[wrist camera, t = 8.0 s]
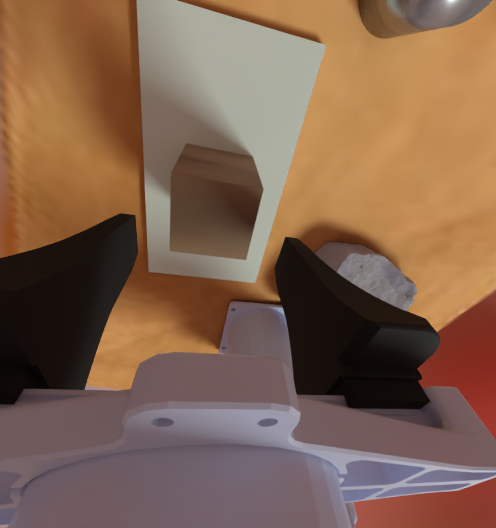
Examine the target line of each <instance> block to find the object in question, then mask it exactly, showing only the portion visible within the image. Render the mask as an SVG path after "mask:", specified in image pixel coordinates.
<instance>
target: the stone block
mask: <svg viewBox="0 0 496 528" xmlns="http://www.w3.org/2000/svg"><path fill="white" fill-rule="evenodd" d="M315 254H316V255H317V256H318V257H319V258H320V259H321V260H322V261H324V262H325V263H326V264H327V265H328V266H330V267H331V268H332V269H333V270H335V271H336V272H337V273H338V274H340V275H341V276H343V277H344V278H345V279H347V280H348V281H350V282H351V283H353V284H354V285H356V286H358V287H359V288H361V289H363V290H364V291H366V292H368V293H370V294H371V295H373V296H375V297H377V298H379V299H381V300H383V301H385V302H387V303H389V304H391V305H393V306H395V307H398V308H400V309H402V310H405V311H407V310H408V308H409V307H410V305H411V304H412V303H413V302H414V301H415V300H414V296H415V295H416V293H417V290H416V285H415V284H414V282H413V281H412V280H410V279H409V278H408V277H406V276H405V275H404V274H403V273H402V272H401V271H400V269H398V268H397V267H396V266H395V265H394V264H393V263H392V262H391V261H389V260H388V259H387V258H386V257H384V256H383V255H381V254H379V253H376V252H373V251H372V250H371V249H368V248H366V247H365V246H363V245H360V244H350V243H343V242H327V243H325V244H324V245H323V246H322V247H321V248H320V249H318V250H317V251H316V252H315Z"/></svg>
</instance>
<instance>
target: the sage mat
mask: <svg viewBox="0 0 496 528" xmlns="http://www.w3.org/2000/svg"><path fill="white" fill-rule="evenodd" d="M137 22H138V45H139V67H140V90H141V112H142V135H143V157H144V180H145V203H146V225H147V248H148V270H149V272H153V273H163V274H173V275H182V276H192V277H202V278H211V279H221V280H231V281H240V282H250V283H255V282H256V279H257V275H258V272H259V269H260V265H261V262H262V258H263V255H264V252H265V248H266V245H267V242H268V238H269V235H270V232H271V228H272V225H273V222H274V218H275V215H276V211H277V208H278V205H279V201H280V198H281V195H282V191H283V188H284V185H285V181H286V178H287V175H288V171H289V168H290V164H291V161H292V158H293V154H294V151H295V148H296V144H297V141H298V138H299V134H300V131H301V128H302V124H303V121H304V118H305V114H306V111H307V107H308V104H309V101H310V97H311V94H312V91H313V87H314V84H315V81H316V77H317V74H318V71H319V67H320V64H321V60H322V57H323V54H324V50H325V47H326V45H324V44H321V43H317V42H314V41H311V40H307V39H304V38H301V37H297V36H294V35H291V34H287V33H284V32H281V31H277V30H274V29H271V28H267V27H264V26H261V25H257V24H254V23H251V22H248V21H244V20H241V19H238V18H234V17H231V16H228V15H224V14H221V13H218V12H214V11H211V10H208V9H204V8H201V7H198V6H194V5H191V4H188V3H184V2H181V1H178V0H137ZM186 143H187V144H192V145H197V146H202V147H207V148H212V149H217V150H222V151H227V152H233V153H238V154H243V155H248V156H253V159H254V162H255V165H256V168H257V171H258V174H259V177H260V180H261V183H262V186H263V189H264V190H263V194H262V198H261V202H260V206H259V210H258V214H257V218H256V222H255V226H254V230H253V234H252V238H251V242H250V246H249V250H248V254H247V259H246V260H241V259H232V258H224V257H215V256H207V255H198V254H190V253H181V252H173V251H170V193H171V172H172V170H173V168H174V166H175V164H176V162H177V160H178V158H179V156H180V154H181V153H182V151H183V149H184V147H185V145H186Z"/></svg>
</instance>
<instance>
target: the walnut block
mask: <svg viewBox="0 0 496 528" xmlns="http://www.w3.org/2000/svg"><path fill="white" fill-rule="evenodd" d="M263 190H264V189H263V186H262V183H261V180H260V177H259V174H258V171H257V168H256V165H255V162H254V159H253V156H248V155H243V154H238V153H233V152H227V151H222V150H217V149H212V148H207V147H202V146H197V145H192V144H187V143H186V145H185V147H184V149H183V151H182V153H181V154H180V156H179V158H178V160H177V162H176V164H175V166H174V168H173V170H172V172H171V193H170V251H173V252H181V253H190V254H198V255H207V256H215V257H224V258H232V259H241V260H246V259H247V254H248V250H249V246H250V242H251V238H252V234H253V230H254V226H255V222H256V218H257V214H258V210H259V206H260V202H261V198H262V194H263Z"/></svg>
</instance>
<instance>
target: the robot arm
mask: <svg viewBox="0 0 496 528" xmlns="http://www.w3.org/2000/svg"><path fill="white" fill-rule="evenodd" d="M137 254H138V246H137V232H136V218H135V215H129V214H122V213H121V214H118V215H116V216H114V217H111V218H109V219H107V220H105V221H103V222H101V223H99V224H97V225H95V226H93V227H91V228H89V229H87V230H85V231H83V232H80V233H78V234H76V235H73V236H71V237H69V238H66V239H64V240H61V241H59V242H56V243H53V244H50V245H47V246H44V247H41V248H38V249H34V250H31V251H27V252H23V253H19V254H15V255H12V256H8V257H4V258H0V526H8V528H356V526H355V523H356V521H357V515H356V511H355V507H354V503H353V502H356V501H364V500H371V499H379V498H386V497H395V496H402V495H411V494H421V493H431V492H443V491H457V490H461V489H463V488H466V487H469V486H472V485H475V484H478V483H480V482H483V481H486V480H489V479H492V478H494V477H496V440H495V439H494V438H493V436H492V435H491V434H490V432H489V431H488V430H487V428H486V427H485V425H484V424H483V423H482V421H481V420H480V419H479V417H478V416H477V415H476V413H475V412H474V410H473V409H472V408H471V406H470V405H469V404H468V402H467V401H466V400H465V398H464V397H463V396H462V394H461V393H460V392H459V390H458V389H457V388H455V387H436V386H435V387H434V386H432V387H427V388H424V389H423V388H422V387H421V385H420V384H419V382H418V380H421V379H422V376H421V374H420V373H419V371H418V370H417V368H418V367H419V366H420V365H422V364H423V363H424V362H425V361H426V360H427V359H428V358H429V357H430V356H431V355H433V353H434V352H435V351H436V350H437V348H438V346H439V344H440V336H439V335H438V333H437V332H436V331H435V329H434V328H433V327H432V326H431V325H430V323H429V322H428V321H427V320H426V319H425V318H422V317H420V316H417V315H415V314H412V313H410V312H407V311H405V310H402V309H400V308H398V307H395V306H393V305H391V304H389V303H387V302H385V301H383V300H381V299H379V298H377V297H375V296H373V295H371V294H370V293H368V292H366V291H364V290H363V289H361V288H359V287H358V286H356V285H354V284H353V283H351V282H350V281H348V280H347V279H345V278H344V277H343V276H341V275H340V274H338V273H337V272H336V271H335V270H333V269H332V268H331V267H330V266H328V265H327V264H326V263H325V262H324V261H322V260H321V259H320V258H319V257H318V256H317V255H316V254H315V253H313V252H312V251H311V250H310V249H309V248H308V247H307V246H306V245H305V244H303V243H302V242H301V241H300V240H298V239H297V238H290V237H285V240H284V243H283V246H282V249H281V252H280V255H279V258H278V261H277V264H276V266H275V275H276V284H277V288H278V292H279V296H280V300H281V303H282V305H274V304H263V303H252V302H240V301H232V302H230V304H229V308H228V312H227V316H226V321H225V325H224V330H223V334H222V338H221V343H220V347H219V354H206V353H186V352H173V353H163V354H157V355H155V356H153V357H151V358H149V359H147V360H145V361H143V362H141V363H140V364H139V367H138V369H137V371H136V374H135V377H134V381H133V384H132V387H131V389H127V390H120V391H105V390H104V391H103V390H84V389H85V386H86V383H87V379H88V376H89V373H90V370H91V366H92V363H93V360H94V357H95V354H96V351H97V348H98V345H99V342H100V339H101V337H102V334H103V331H104V328H105V326H106V323H107V320H108V317H109V315H110V313H111V310H112V308H113V306H114V304H115V302H116V300H117V298H118V296H119V294H120V292H121V291H122V289H123V287H124V285H125V283H126V281H127V279H128V277H129V275H130V273H131V271H132V269H133V266H134V263H135V260H136V257H137ZM232 308H234V309H232Z"/></svg>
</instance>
